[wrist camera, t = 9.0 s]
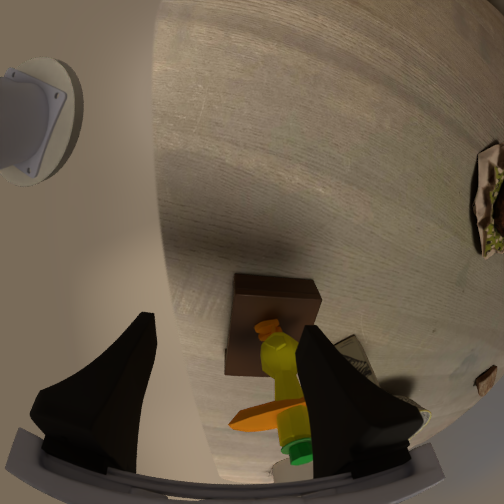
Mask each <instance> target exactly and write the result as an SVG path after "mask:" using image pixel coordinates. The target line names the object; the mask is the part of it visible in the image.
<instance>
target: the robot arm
mask: <svg viewBox="0 0 504 504" xmlns="http://www.w3.org/2000/svg"><path fill="white" fill-rule="evenodd" d="M14 74H15V76H14ZM58 93H59V97H58V98H57V94H58ZM66 99H67V93H66V92H64V91H62V90H60V89H58V88H56V87H54V86H52V85H50V84H48V83H46V82H43V81H41V80H39V79H37V78H35V77H33V76H30V75H28V74H26V73H24V72H21V71H19V70H17V69H15V68H8V70H7V71H6V73H5V76H4V77H0V170H1V169H4V168H6V167H9V166H12V165H13V166H15V167H16V168H18V169H19V170H20V171H22V172H23V173H25V174H26V175H28V176H29V177H31V178H35V177H37V175H38V172H39V169H40V166H41V163H42V159H43V156H44V154H45V151H46V148H47V145H48V142H49V140H50V137H51V134H52V132H53V129H54V127H55V124H56V122H57V119H58V117H59V115H60V113H61V110H62V108H63V106H64V104H65V102H66ZM30 169H31V172H30ZM156 349H157V336H156V327H155V316H154V313H148V312H141V313H140V314H139V315H138V316H137V318H136V319H135V320H134V321H133V322H132V323H131V325H130V326H129V327H128V328H127V329H126V330H125V331H124V332H123V333H122V335H121V336H120V337H119V338H118V339H117V340H116V341H115V342H114V343H113V344H112V345H111V346H110V347H109V348H108V349H107V350H106V351H104V352H103V353H102V354H101V355H100V356H99V357H98V358H96V359H95V360H94V361H93V362H91V363H90V364H89V365H87V366H86V367H85V368H83V369H82V370H80V371H79V372H77V373H76V374H74V375H72V376H70V377H68V378H67V379H65V380H63V381H61V382H59V383H57V384H55V385H52V386H50V387H48V388H45V389H43V390H40V392H39V393H38V395H37V397H36V399H35V402H34V404H33V406H32V409H31V411H30V417H31V419H32V420H33V421H34V423H35V424H36V425H37V426H38V427H39V428H40V430H41V431H42V432H43V433H44V434H45V438H44V440H43V439H41V438H40V437H38V436H36V435H34V434H32V433H30V432H28V431H26V430H24V429H22V428H18V431H17V434H16V436H15V439H14V442H13V445H12V448H11V451H10V454H9V457H8V460H7V463H6V466H5V469H6V470H7V471H8V472H10V473H11V474H13V475H14V476H16V477H17V478H19V479H20V480H22V481H23V482H25V483H27V484H29V485H30V486H32V487H33V488H35V489H37V490H39V491H41V492H43V493H45V494H47V495H49V496H51V497H54V498H56V499H58V500H60V501H62V502H65V503H67V504H398V503H400V502H402V501H405V500H407V499H409V498H411V497H414V496H416V495H418V494H420V493H421V492H423V491H425V490H427V489H429V488H431V487H432V486H434V485H436V484H438V483H439V482H441V481H443V480H444V479H445V476H444V473H443V471H442V468H441V466H440V464H439V461H438V459H437V457H436V454H435V452H434V449H433V447H432V445H431V443H427V444H424V445H422V446H419V447H417V448H414V449H412V450H411V451H408V448H407V447H408V446H409V445H410V443H409V441H408V439H409V438H410V437H411V436H412V435H413V434H415V433H416V432H417V431H418V430H419V429H420V428H421V426H422V425H423V423H424V420H423V418H422V416H421V413H420V411H419V409H418V408H417V407H416V406H414V405H412V404H410V403H407V402H405V401H403V400H401V399H399V398H397V397H395V396H393V395H391V394H390V393H388V392H386V391H385V390H383V389H382V388H380V387H379V386H377V385H376V384H374V383H373V382H372V381H370V380H369V379H368V378H367V377H365V376H364V375H363V374H362V373H361V372H359V371H358V370H357V369H356V368H355V367H354V366H353V365H352V364H351V363H350V362H349V361H348V360H347V359H346V358H345V357H344V356H343V355H342V354H341V353H340V352H339V351H338V350H337V349H336V347H335V346H334V345H333V344H332V343H331V342H330V340H329V339H328V338H327V337H326V336H325V335H324V333H323V332H322V331H321V330H320V329H319V327H318V326H317V325H305V326H304V329H303V332H302V335H301V338H300V340H299V343H298V346H297V349H296V352H295V358H296V366H297V372H298V376H299V380H300V384H301V388H302V391H303V395H304V399H305V402H306V406H307V411H308V416H309V423H310V431H311V440H312V454H313V479H310V480H302V481H294V482H284V483H271V484H250V485H249V484H247V485H232V484H229V485H228V484H206V483H193V482H184V481H175V480H168V479H162V478H156V477H149V476H145V475H140V474H136V458H137V443H138V432H139V422H140V416H141V409H142V403H143V399H144V395H145V392H146V388H147V385H148V381H149V378H150V374H151V371H152V368H153V364H154V360H155V355H156ZM165 495H167V496H174V497H182V498H193V499H204V500H199V501H187V500H172V499H168V497H167V496H165ZM298 496H301V497H298Z"/></svg>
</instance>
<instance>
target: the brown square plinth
mask: <svg viewBox="0 0 504 504" xmlns="http://www.w3.org/2000/svg"><path fill="white" fill-rule="evenodd" d="M233 288H234V297H233V305H232V313H231V321H230V329H229V337H228V345H227V349H225V365H224V369H225V370H224V374H225V375H230V376H252V377H271V376H269V375H268V374H267V373H265V372H264V371H262V363H261V345H262V344H263V342H264V341H260V339H259V338H258V334H260V333H256V331H255V329H254V327H255V325H257V324H258V323H260V322H262V321H266V320H273V319H278V321H279V325H278V326H277V327H279V326H280V327H281V329H282V332H283V333H285V334H287V335H289V336H290V337H292V338H293V339H294V340H296V341H297V342H298V343H299V340H300V338H301V335H302V332H303V329H304V326H305V325H314V322H315V319H316V316H317V314H318V311H319V308H320V305H321V302H322V298H321V296H320V294H319V291H318V289H317V287H316V285H315V283H314V281H313V280H306V279H293V278H280V277H268V276H256V275H244V274H234V280H233Z"/></svg>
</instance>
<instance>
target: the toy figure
mask: <svg viewBox="0 0 504 504" xmlns="http://www.w3.org/2000/svg"><path fill="white" fill-rule="evenodd" d="M278 325H279V321H278V319H273V320H266V321H262V322H260V323H258V324H257V325H255V327H254V329H255V331H256V333H260V334H258V338H259V339H260V341H264V342H263V344H262V345H261V363H262V371H264V372H265V373H267V374H268V375H269V376H271V377H272V378H273V379H275V401H273V402H269V403H265V404H262V405H258V406H254V407H251V408H247V409H244V410H240V411H239V412H238V413H237V415H236V416H235V417H234V418H233V419H232V421H231V422H230V423H229V424H228V425H229V426H230V427H231V428H232V429H233V430H239V431H244V432H255V431H264V430H270V429H275V428H277V429H278V436H279V442H280V446H282V449H281V452H282V453H283V454H289V456H290V464H291V465H295V466H298V465H302V464H306V463H309V462H311V461H313V454H312V440H311V431H310V423H309V416H308V411H307V406H306V402H305V399H304V395H303V391H302V388H301V386H300V384H299V381H298V379H297V376H296V374H297V373H298V372H297V366H296V358H295V352H296V349H297V346H298V342H297V341H296V340H294V339H293V338H292V337H290V336H289V335H287V334H285V333H283V332H282V329H281V327H280V326H279V327H277V326H278Z"/></svg>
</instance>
